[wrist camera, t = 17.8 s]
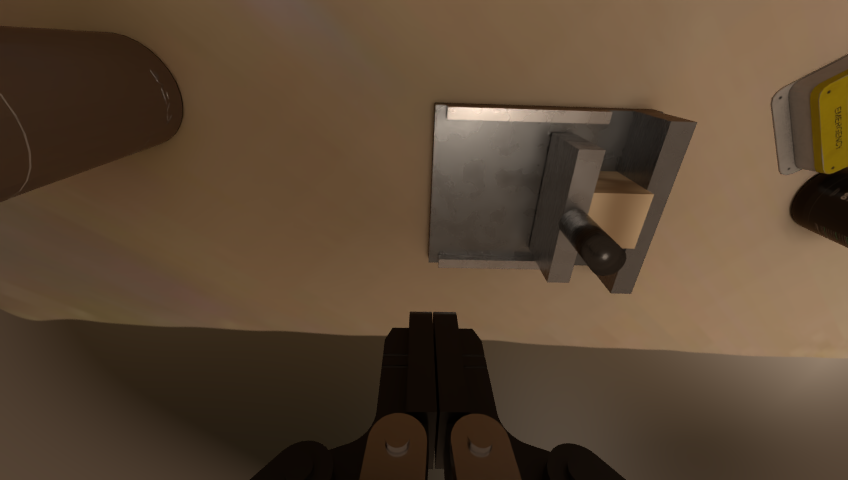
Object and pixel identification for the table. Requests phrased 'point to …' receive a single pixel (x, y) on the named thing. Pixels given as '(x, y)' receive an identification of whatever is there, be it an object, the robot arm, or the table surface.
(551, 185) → the jaw
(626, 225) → the maple block
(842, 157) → the emergency button
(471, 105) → the press
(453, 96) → the table surface
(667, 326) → the table surface
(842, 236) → the supplement bottle
